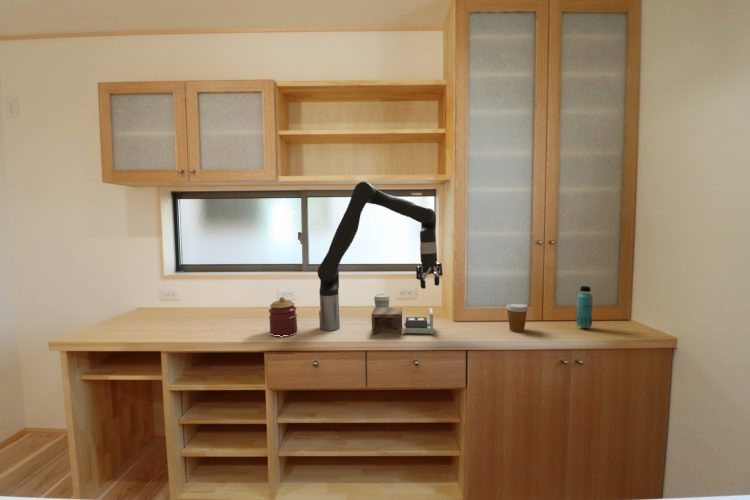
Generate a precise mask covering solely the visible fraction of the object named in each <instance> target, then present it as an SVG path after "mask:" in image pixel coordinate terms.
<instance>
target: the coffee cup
mask: <svg viewBox="0 0 750 500" xmlns="http://www.w3.org/2000/svg"><path fill="white" fill-rule="evenodd" d="M390 298H391V297H390V296H389V294H386V293H381V294H375V295H374V297H373V300H374V308H390V306H389V305H390Z"/></svg>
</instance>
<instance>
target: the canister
mask: <svg viewBox="0 0 750 500" xmlns="http://www.w3.org/2000/svg"><path fill="white" fill-rule="evenodd" d="M278 299H279V300H276V301H273V302H272V303H271V304H270V305H269V307H270V308H269V309H268V313H269V318H268V319H269V334H270V333H271V334H273V335H280V336H283V335H291V334H294V333H296V332H297V333H298V320H297V316H298V314H297V312H296V311H297V307H296V306H295V302H293V301H292V300H290V299H286V298H285V297H283V296H281V297H280V298H278ZM297 333H296V334H297ZM271 334H270V335H271ZM294 335H295V334H294ZM291 336H292V335H291Z"/></svg>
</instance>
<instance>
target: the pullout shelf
mask: <svg viewBox="0 0 750 500" xmlns="http://www.w3.org/2000/svg"><path fill="white" fill-rule="evenodd" d="M428 309H429V322H427V328H406V322H404V323H403V334H431V335H433V334H434V312H433V308H432V307H429V308H428Z"/></svg>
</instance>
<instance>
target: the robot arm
mask: <svg viewBox="0 0 750 500" xmlns="http://www.w3.org/2000/svg"><path fill="white" fill-rule="evenodd" d="M366 204H370V205H371V204H372V205H375V206H380V207H383V208H385V209H387V210H390V211H392V212H394V213H396V214H398V215H402V216H404V217H407V218H410V219H412V220H414V221H416V222H418V223H421V224H420V227H421V228H420V229H421V230H420V231H419V242H420V243H419V254H420V263H421V265H420V266H418V265H417V266H416V267H415V268H416V269H415V270H416V271H415V273H416V274H415V275H416V276H415V277H416V280H419V282H420V283H419V284H420V288H421V289H424V290H425V289H426V287H427V286H426V285H427V284H426V279H427V277H428V276H429V275H431V274H432V275H433V277H434V279H433V280H434V281H433V282H434V285H435V286H438V287H439V286H440V278H441V276H443V264H442V263H441V262H438V253H437V252H438V251H437V250H438V248H437V242H436V241H437V239H436V224H437V223H436V222H437V216H436V213H435V210H434V209H432V208H429V207H424V206H421V205H419V204H416V203H414V202H413V201H410V200H407V199H405V198H401V197H398V196H396V195H390V194H388V193H385V192H383V191H381V190H380V189H378V188H376V187H374V185H372V184H370V183H369V182H366V181H360V182H358V183H357V184H356V185H355V187H354V188H353V191H352V194H351V197H350V200H349V203H348V205H347V208H346V210H345V212H344V213H343V216H342V218H341V220H340V222H339V223H338V226H337V229H336V230H335V233H334V235H333V238H332V240H331V242H330V246H329V249H328V251H327V253H326V255H324V256H325V257H324V258H323V260H322V262H321V263H320V264H319V266H318V269H317V277H318V279H319V280H320V285H319V309H320V310H319V312H318V316H319V330H320V329H321V330H320V331H324V330H327V331H326V332H330V331H332V330H333V331H337V330H339V329H340V328H341V326H340V325H341V323H340V322H341V321H340V301H339V289H340V288H339V287H340V279H339V278H340V275H339V274H340V273H339V266H340V263H341V261H342V258H343V257H344V256H345V254H346V252H347V251H348V250H349V248H350V246H351V244H352V243H353V241H354V238H356V237H355V236H356V235H357V233H358V229H359V225H360V219H361V215H362V212H363V211H364V208H365V206H366ZM333 331H332V332H333Z"/></svg>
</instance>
